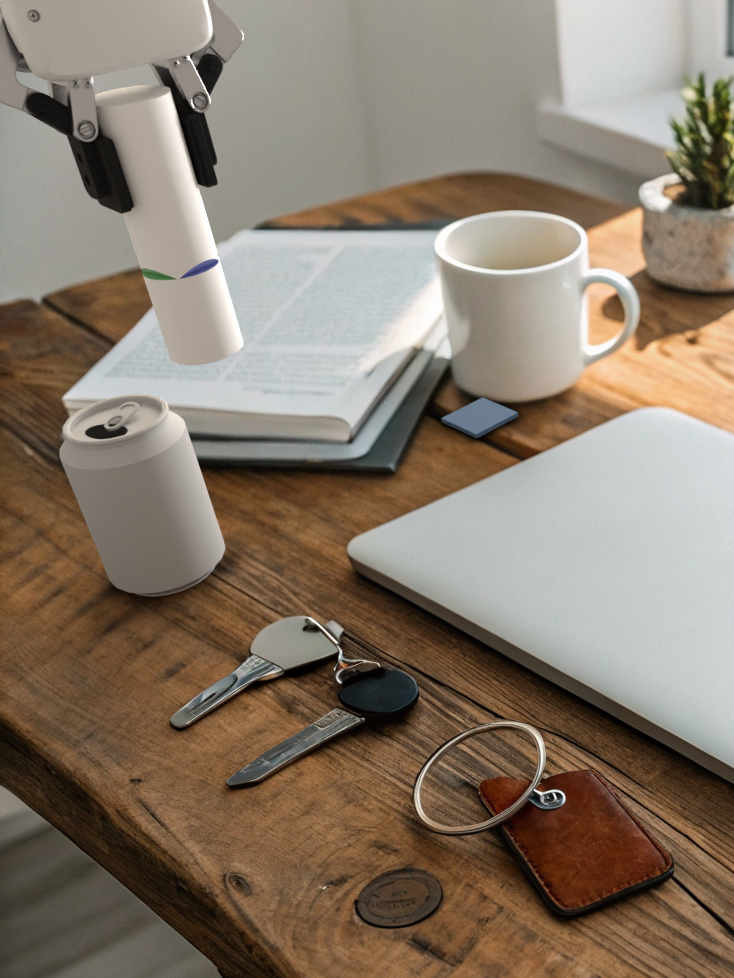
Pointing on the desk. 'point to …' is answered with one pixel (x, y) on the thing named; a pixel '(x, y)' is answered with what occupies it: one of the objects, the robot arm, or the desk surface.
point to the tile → (479, 417)
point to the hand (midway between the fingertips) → (158, 191)
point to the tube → (170, 225)
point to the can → (142, 494)
